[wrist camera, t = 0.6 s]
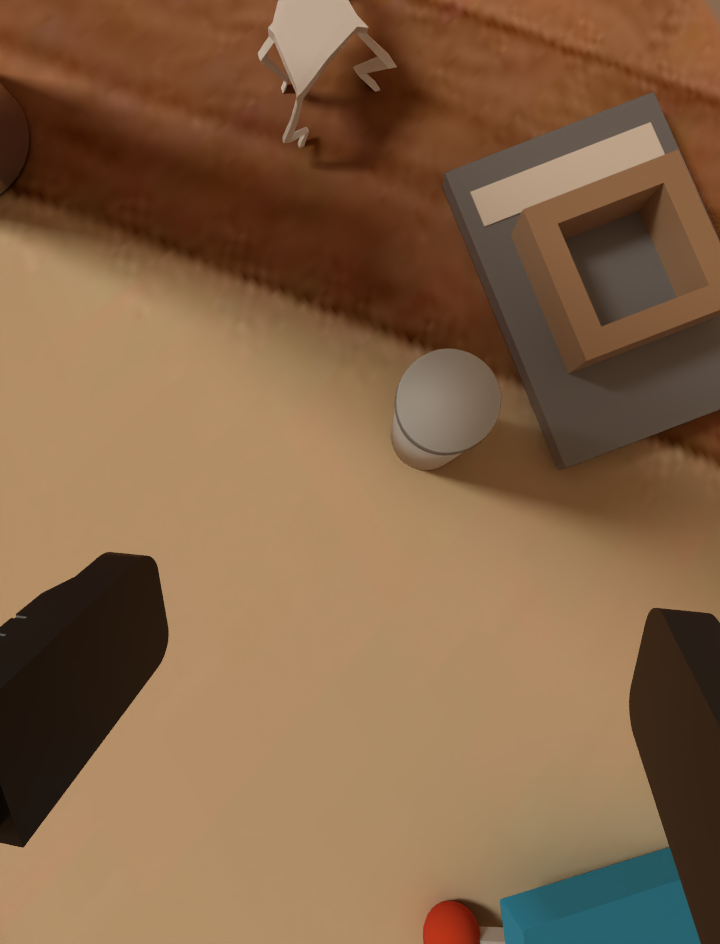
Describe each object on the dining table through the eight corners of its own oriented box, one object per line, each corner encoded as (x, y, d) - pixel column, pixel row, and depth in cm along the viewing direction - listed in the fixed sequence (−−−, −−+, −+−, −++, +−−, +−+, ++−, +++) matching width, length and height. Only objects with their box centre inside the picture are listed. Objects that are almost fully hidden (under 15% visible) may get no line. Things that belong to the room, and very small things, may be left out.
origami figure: (404, 137, 37) (408, 80, 32) (282, 163, 37) (267, 110, 32) (369, -28, 38) (367, -108, 33) (249, -1, 38) (230, -77, 33)
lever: (655, 797, 38) (408, 866, 34) (749, 856, 31) (455, 953, 27) (670, 901, 37) (421, 985, 33) (768, 985, 31) (472, 1104, 26)
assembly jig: (442, 186, 36) (450, 141, 32) (642, 108, 36) (679, 52, 32) (558, 469, 35) (584, 464, 30) (767, 390, 35) (824, 372, 30)
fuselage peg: (380, 416, 36) (380, 369, 24) (445, 390, 35) (478, 331, 24) (405, 481, 35) (418, 467, 23) (471, 456, 35) (518, 429, 23)
